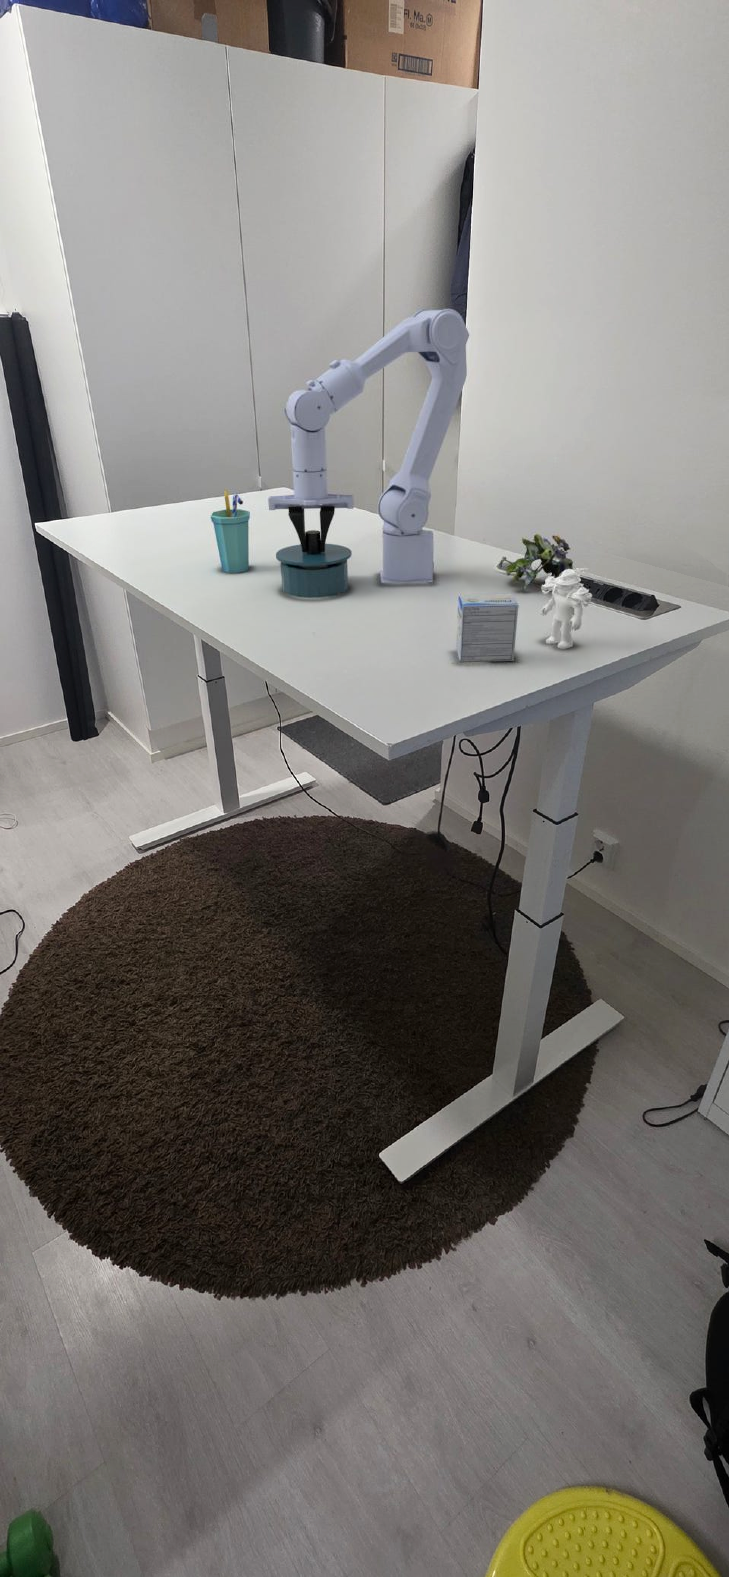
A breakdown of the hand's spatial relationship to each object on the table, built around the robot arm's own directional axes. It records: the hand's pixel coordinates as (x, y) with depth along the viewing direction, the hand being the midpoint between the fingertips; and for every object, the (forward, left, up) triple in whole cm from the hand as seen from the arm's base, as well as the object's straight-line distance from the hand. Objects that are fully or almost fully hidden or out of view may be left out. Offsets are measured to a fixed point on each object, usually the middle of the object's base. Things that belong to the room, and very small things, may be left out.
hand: (313, 551), depth 143 cm
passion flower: (-40, +1, -7) cm, 41 cm away
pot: (0, 0, -7) cm, 7 cm away
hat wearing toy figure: (-38, +29, -7) cm, 48 cm away
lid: (0, 0, -1) cm, 1 cm away
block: (0, 0, -7) cm, 7 cm away
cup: (+16, -14, -7) cm, 22 cm away
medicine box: (-26, +34, -7) cm, 43 cm away
